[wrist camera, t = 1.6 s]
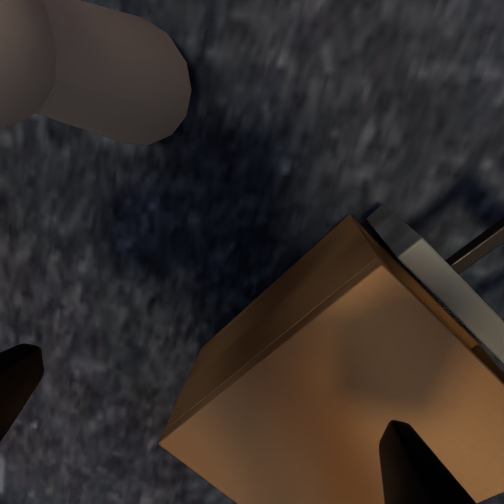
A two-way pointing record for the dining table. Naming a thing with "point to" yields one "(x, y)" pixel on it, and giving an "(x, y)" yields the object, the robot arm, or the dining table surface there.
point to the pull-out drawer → (447, 273)
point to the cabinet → (338, 384)
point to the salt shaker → (90, 70)
